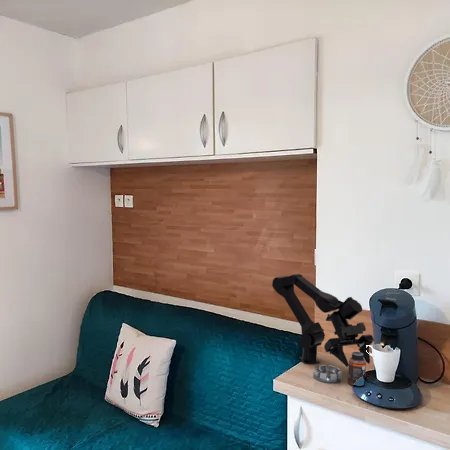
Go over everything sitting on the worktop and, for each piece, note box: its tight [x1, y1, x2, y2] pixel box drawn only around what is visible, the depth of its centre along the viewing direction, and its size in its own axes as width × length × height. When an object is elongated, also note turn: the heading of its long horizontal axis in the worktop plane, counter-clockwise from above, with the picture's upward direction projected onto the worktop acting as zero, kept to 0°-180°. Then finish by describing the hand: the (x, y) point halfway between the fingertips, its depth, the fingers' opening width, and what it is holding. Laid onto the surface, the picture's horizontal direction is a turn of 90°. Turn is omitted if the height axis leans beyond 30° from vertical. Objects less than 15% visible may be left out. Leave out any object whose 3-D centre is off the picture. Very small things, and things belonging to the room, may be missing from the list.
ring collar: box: [313, 364, 343, 384], centre depth 169 cm, size 10×10×3 cm
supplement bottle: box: [347, 351, 367, 387], centre depth 163 cm, size 6×6×11 cm
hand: (358, 364), depth 163 cm, fingers open, 9 cm apart
